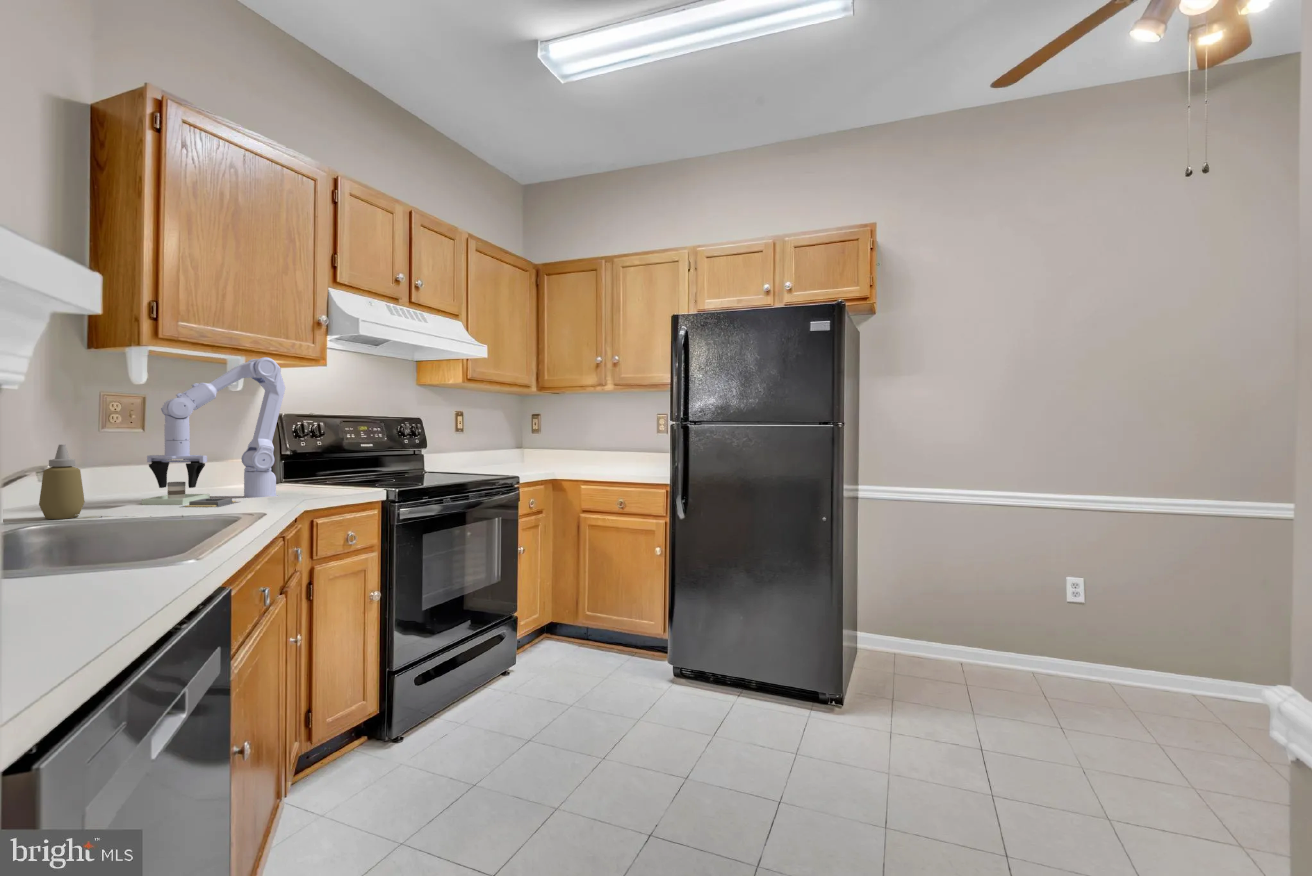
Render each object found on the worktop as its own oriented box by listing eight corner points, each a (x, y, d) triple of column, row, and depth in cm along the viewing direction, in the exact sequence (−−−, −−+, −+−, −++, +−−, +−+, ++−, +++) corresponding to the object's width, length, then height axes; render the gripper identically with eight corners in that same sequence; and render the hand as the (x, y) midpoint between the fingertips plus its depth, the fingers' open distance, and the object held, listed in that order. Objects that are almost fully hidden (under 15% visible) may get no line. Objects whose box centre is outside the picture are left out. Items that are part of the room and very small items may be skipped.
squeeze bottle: (32, 521, 145) (31, 445, 145) (48, 516, 153) (47, 444, 152) (76, 519, 149) (76, 445, 148) (90, 514, 156) (90, 444, 156)
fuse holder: (203, 505, 177) (203, 497, 177) (241, 505, 179) (241, 497, 179) (178, 510, 165) (178, 502, 165) (218, 510, 167) (218, 502, 167)
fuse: (171, 502, 177) (171, 481, 177) (188, 502, 178) (188, 481, 178) (164, 504, 173) (164, 483, 173) (181, 503, 174) (181, 482, 174)
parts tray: (171, 502, 182) (171, 493, 182) (209, 502, 184) (209, 493, 183) (141, 508, 169) (141, 499, 169) (182, 508, 170) (182, 499, 170)
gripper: (139, 440, 171) (139, 489, 171) (196, 440, 173) (197, 489, 173) (156, 439, 178) (156, 486, 178) (211, 440, 180) (211, 486, 180)
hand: (177, 487), depth 176 cm, fingers open, 7 cm apart
